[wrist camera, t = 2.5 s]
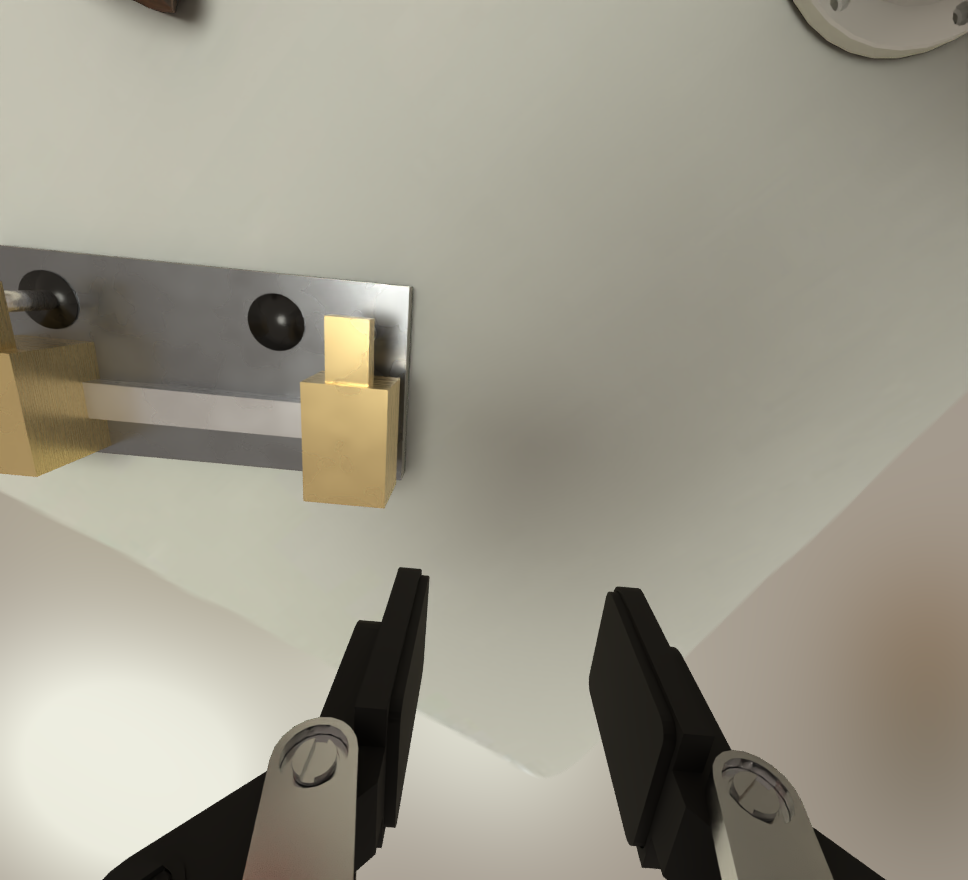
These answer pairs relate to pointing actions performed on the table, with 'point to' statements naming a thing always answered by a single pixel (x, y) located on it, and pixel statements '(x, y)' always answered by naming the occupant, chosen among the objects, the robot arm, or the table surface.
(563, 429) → the table surface
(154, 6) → the bolt
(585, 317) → the table surface
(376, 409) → the block
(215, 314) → the hole plate
